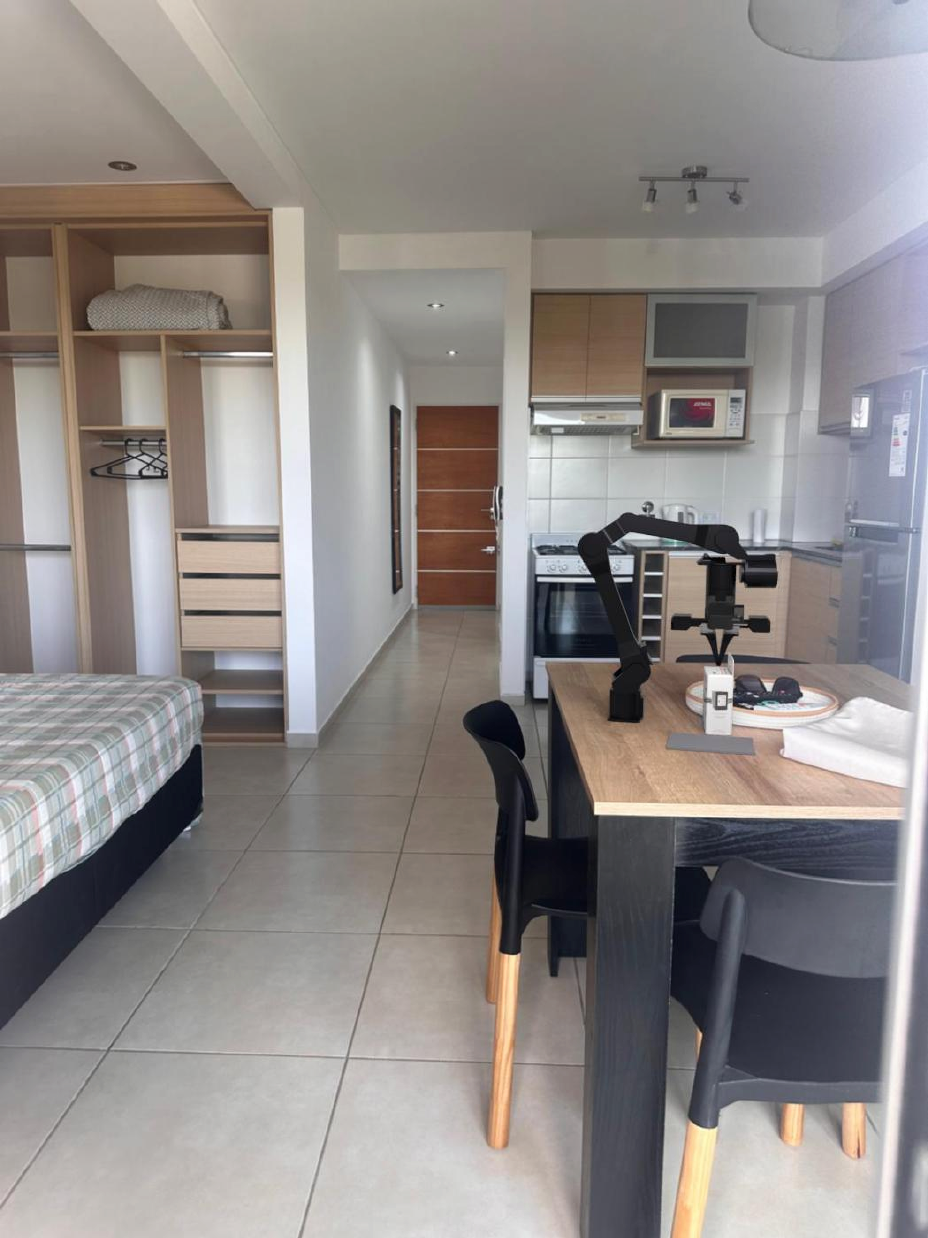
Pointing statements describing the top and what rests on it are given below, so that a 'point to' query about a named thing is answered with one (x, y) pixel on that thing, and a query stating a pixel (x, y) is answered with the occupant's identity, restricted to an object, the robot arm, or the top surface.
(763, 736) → the top surface
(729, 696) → the ink box
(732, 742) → the mat
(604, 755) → the top surface
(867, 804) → the top surface
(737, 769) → the top surface
